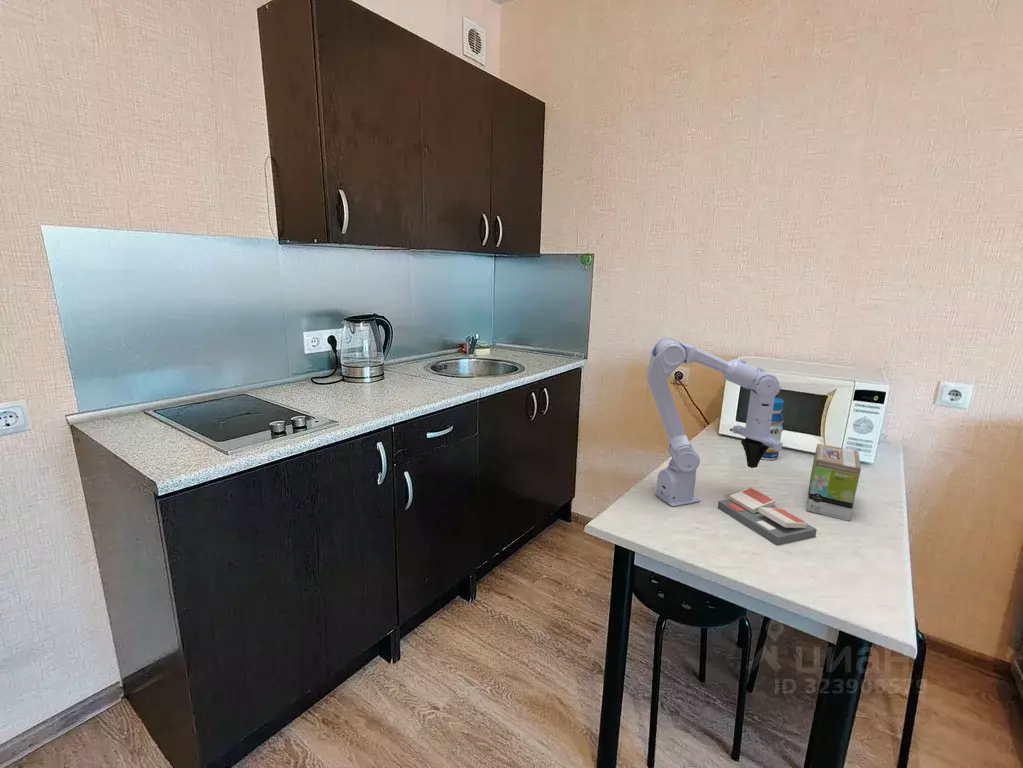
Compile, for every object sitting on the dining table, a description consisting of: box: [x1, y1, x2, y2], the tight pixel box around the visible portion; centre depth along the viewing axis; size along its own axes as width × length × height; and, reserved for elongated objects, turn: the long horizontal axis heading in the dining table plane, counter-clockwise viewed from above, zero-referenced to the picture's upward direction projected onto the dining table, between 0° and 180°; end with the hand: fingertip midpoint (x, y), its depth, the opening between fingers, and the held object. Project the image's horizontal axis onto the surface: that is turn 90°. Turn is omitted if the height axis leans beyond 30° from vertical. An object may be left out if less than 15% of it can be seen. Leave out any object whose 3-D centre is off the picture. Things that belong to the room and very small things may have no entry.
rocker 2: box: [758, 507, 809, 528], centre depth 120 cm, size 7×8×1 cm
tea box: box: [806, 443, 862, 522], centre depth 133 cm, size 15×10×15 cm
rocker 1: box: [728, 487, 776, 514], centre depth 129 cm, size 7×8×1 cm
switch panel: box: [717, 498, 818, 546], centre depth 125 cm, size 12×19×3 cm, turn 20°
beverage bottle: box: [760, 397, 785, 461], centre depth 166 cm, size 8×8×20 cm
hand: (752, 466), depth 132 cm, fingers closed
